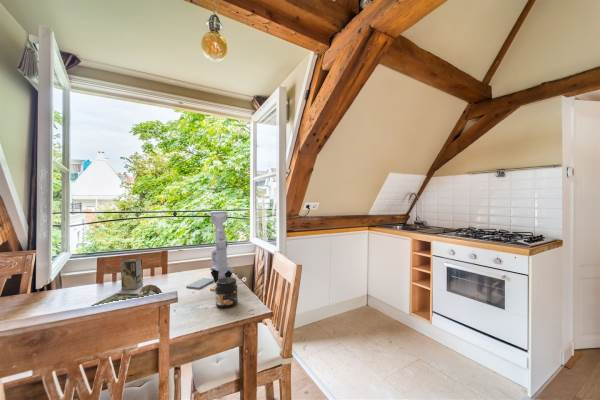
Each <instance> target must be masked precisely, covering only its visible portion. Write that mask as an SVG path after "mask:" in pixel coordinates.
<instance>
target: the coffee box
mask: <svg viewBox="0 0 600 400" xmlns="http://www.w3.org/2000/svg"><path fill="white" fill-rule="evenodd" d="M120 280H121V290H133V289H135V290H137V289H139V288H141V287H143V282H144V281H143V259H142V258H131V259H130V258H129V259H125V260H123V261H120Z"/></svg>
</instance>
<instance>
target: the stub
mask: <svg viewBox="0 0 600 400" xmlns="http://www.w3.org/2000/svg"><path fill="white" fill-rule="evenodd" d="M221 278H226V277H225V276H222V277H218V280H219V279H221ZM216 287H217V286H216V285H215V286H213V287H211V288H210V289H209V291H210V292H216V290H215V288H216Z"/></svg>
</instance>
